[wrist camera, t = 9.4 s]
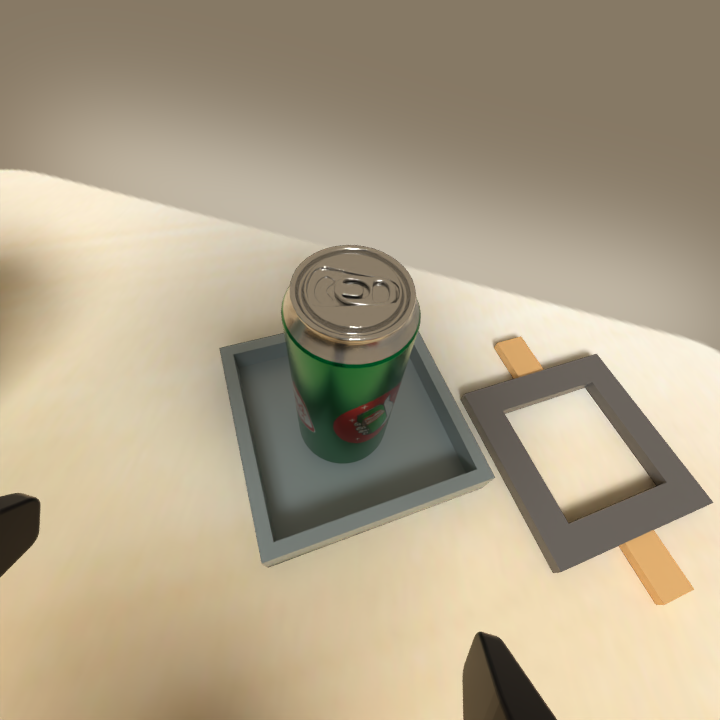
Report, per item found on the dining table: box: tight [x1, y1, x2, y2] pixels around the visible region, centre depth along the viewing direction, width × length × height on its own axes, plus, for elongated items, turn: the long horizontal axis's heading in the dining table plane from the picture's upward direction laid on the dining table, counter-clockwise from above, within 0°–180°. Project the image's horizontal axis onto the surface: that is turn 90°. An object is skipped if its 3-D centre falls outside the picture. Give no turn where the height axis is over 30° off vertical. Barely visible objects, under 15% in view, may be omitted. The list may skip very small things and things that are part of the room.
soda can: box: [281, 245, 421, 464], centre depth 18 cm, size 5×5×12 cm
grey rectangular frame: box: [461, 337, 713, 605], centre depth 24 cm, size 11×17×1 cm, turn 19°
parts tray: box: [220, 331, 495, 567], centre depth 23 cm, size 12×12×2 cm
